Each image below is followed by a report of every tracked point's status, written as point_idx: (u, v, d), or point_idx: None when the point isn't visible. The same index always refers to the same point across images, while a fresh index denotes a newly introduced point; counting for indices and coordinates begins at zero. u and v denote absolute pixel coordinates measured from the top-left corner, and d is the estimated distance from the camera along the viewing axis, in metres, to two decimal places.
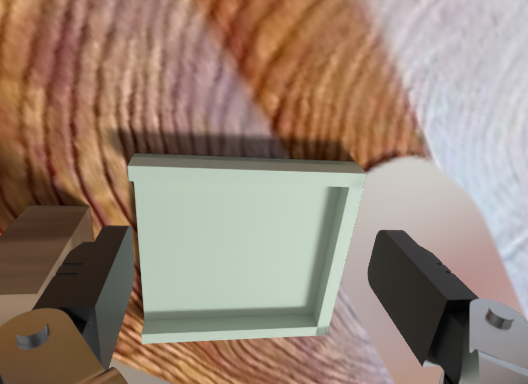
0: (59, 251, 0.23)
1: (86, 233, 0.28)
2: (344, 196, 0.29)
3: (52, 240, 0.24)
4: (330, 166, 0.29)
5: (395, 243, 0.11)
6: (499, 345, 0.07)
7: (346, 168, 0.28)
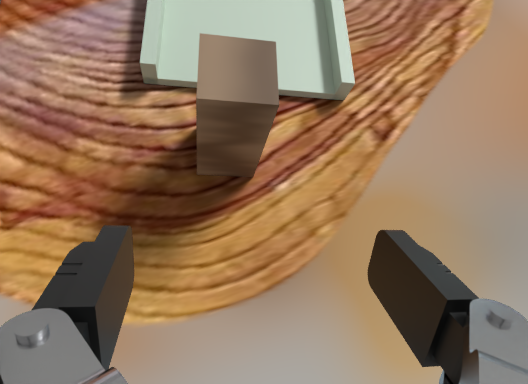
0: None
1: None
2: None
3: None
4: None
5: (395, 243, 0.11)
6: (499, 345, 0.07)
7: None
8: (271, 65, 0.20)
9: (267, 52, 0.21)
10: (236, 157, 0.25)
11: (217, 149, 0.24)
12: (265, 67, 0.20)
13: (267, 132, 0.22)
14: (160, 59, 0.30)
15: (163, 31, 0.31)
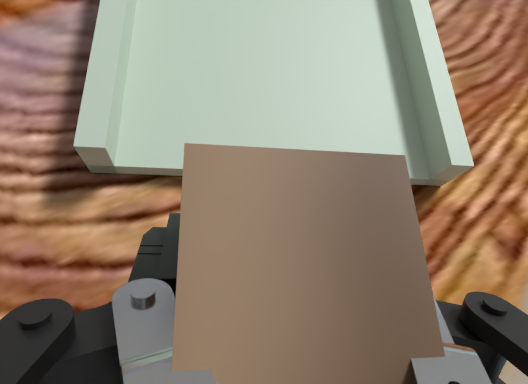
0: None
1: None
2: None
3: None
4: None
5: None
6: None
7: None
8: (406, 240, 0.07)
9: (388, 194, 0.07)
10: None
11: None
12: (390, 249, 0.07)
13: None
14: (121, 127, 0.17)
15: (128, 73, 0.18)
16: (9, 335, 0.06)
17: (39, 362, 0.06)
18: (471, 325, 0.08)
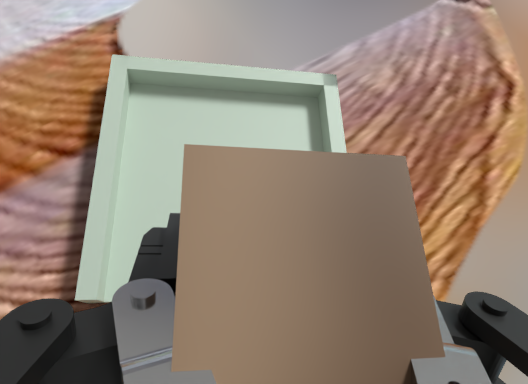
0: None
1: None
2: (144, 75, 0.28)
3: None
4: None
5: None
6: None
7: None
8: (406, 241, 0.07)
9: (388, 195, 0.07)
10: None
11: None
12: (390, 251, 0.07)
13: None
14: (108, 269, 0.23)
15: (115, 223, 0.24)
16: (9, 335, 0.06)
17: (39, 362, 0.06)
18: (471, 325, 0.08)
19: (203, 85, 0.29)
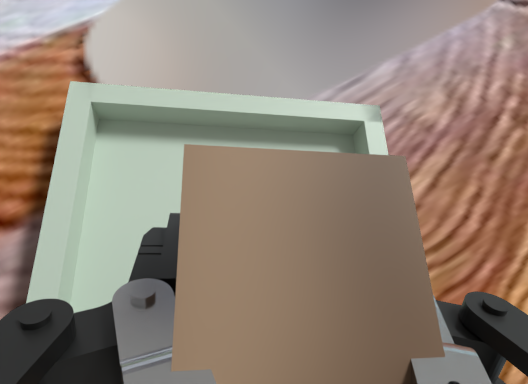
0: None
1: None
2: (115, 109, 0.20)
3: None
4: None
5: None
6: None
7: None
8: (406, 241, 0.07)
9: (388, 195, 0.07)
10: None
11: None
12: (390, 251, 0.07)
13: None
14: None
15: None
16: (9, 335, 0.06)
17: (40, 362, 0.06)
18: (471, 325, 0.08)
19: (199, 121, 0.21)
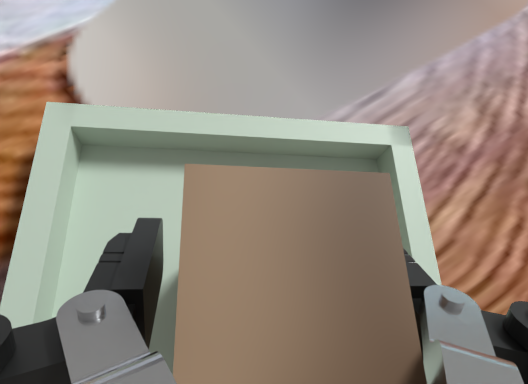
0: None
1: None
2: (101, 134, 0.17)
3: None
4: None
5: None
6: (445, 326, 0.07)
7: None
8: (389, 253, 0.07)
9: (373, 209, 0.08)
10: None
11: None
12: (374, 261, 0.07)
13: None
14: None
15: None
16: None
17: None
18: (514, 333, 0.08)
19: (200, 146, 0.18)
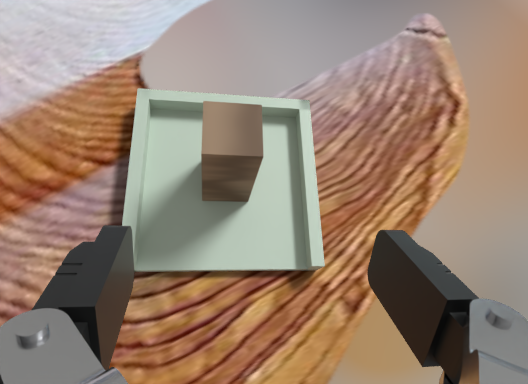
0: None
1: None
2: (161, 103, 0.36)
3: None
4: None
5: (395, 243, 0.11)
6: (499, 345, 0.07)
7: None
8: (258, 124, 0.27)
9: (255, 114, 0.27)
10: (233, 189, 0.32)
11: (218, 184, 0.31)
12: (253, 126, 0.27)
13: (256, 172, 0.29)
14: (138, 248, 0.32)
15: (142, 214, 0.33)
16: None
17: None
18: None
19: None
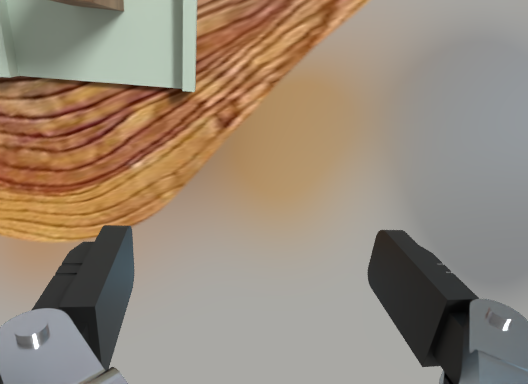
0: None
1: None
2: None
3: None
4: None
5: (395, 243, 0.11)
6: (499, 345, 0.07)
7: None
8: None
9: None
10: (95, 6, 0.30)
11: (72, 3, 0.29)
12: None
13: (103, 5, 0.27)
14: (16, 53, 0.34)
15: (10, 17, 0.32)
16: None
17: None
18: None
19: None
